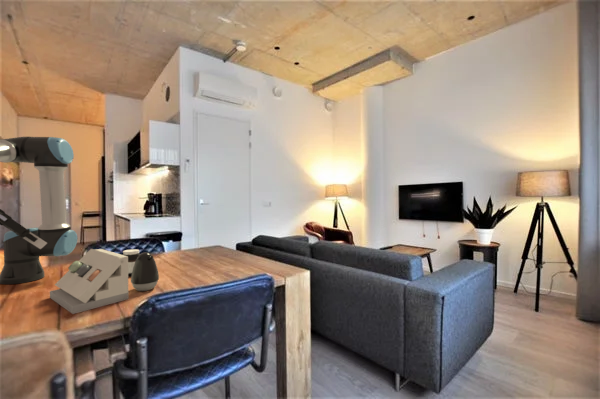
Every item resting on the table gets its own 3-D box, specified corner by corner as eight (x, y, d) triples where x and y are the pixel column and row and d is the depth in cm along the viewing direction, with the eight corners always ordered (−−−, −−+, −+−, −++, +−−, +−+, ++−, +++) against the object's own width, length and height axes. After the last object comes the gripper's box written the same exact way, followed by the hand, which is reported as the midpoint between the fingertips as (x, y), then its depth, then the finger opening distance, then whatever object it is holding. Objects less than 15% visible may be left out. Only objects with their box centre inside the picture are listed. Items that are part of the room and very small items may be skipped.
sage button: (66, 272, 113) (66, 261, 113) (80, 270, 116) (80, 259, 116) (70, 274, 110) (70, 262, 110) (84, 272, 114) (84, 260, 114)
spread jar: (144, 274, 143) (144, 250, 143) (120, 279, 134) (120, 254, 134) (131, 270, 150) (131, 247, 150) (107, 275, 140) (107, 251, 140)
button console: (49, 297, 110) (49, 254, 110) (101, 286, 124) (101, 247, 124) (72, 314, 96) (72, 263, 95) (128, 299, 109) (128, 255, 109)
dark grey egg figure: (140, 295, 114) (139, 256, 113) (125, 290, 119) (125, 253, 119) (164, 287, 122) (164, 251, 122) (150, 283, 128) (149, 249, 128)
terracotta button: (87, 283, 104) (87, 270, 104) (101, 280, 107) (101, 268, 107) (91, 285, 101) (91, 272, 101) (106, 282, 105) (106, 269, 105)
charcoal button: (74, 276, 108) (74, 264, 108) (88, 274, 111) (88, 262, 111) (78, 278, 105) (78, 266, 105) (93, 275, 109) (92, 263, 109)
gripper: (-42, 208, 93) (29, 252, 107) (-37, 210, 86) (39, 256, 100) (-18, 192, 98) (47, 236, 111) (-11, 192, 90) (58, 239, 104)
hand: (43, 245), depth 105 cm, fingers closed
